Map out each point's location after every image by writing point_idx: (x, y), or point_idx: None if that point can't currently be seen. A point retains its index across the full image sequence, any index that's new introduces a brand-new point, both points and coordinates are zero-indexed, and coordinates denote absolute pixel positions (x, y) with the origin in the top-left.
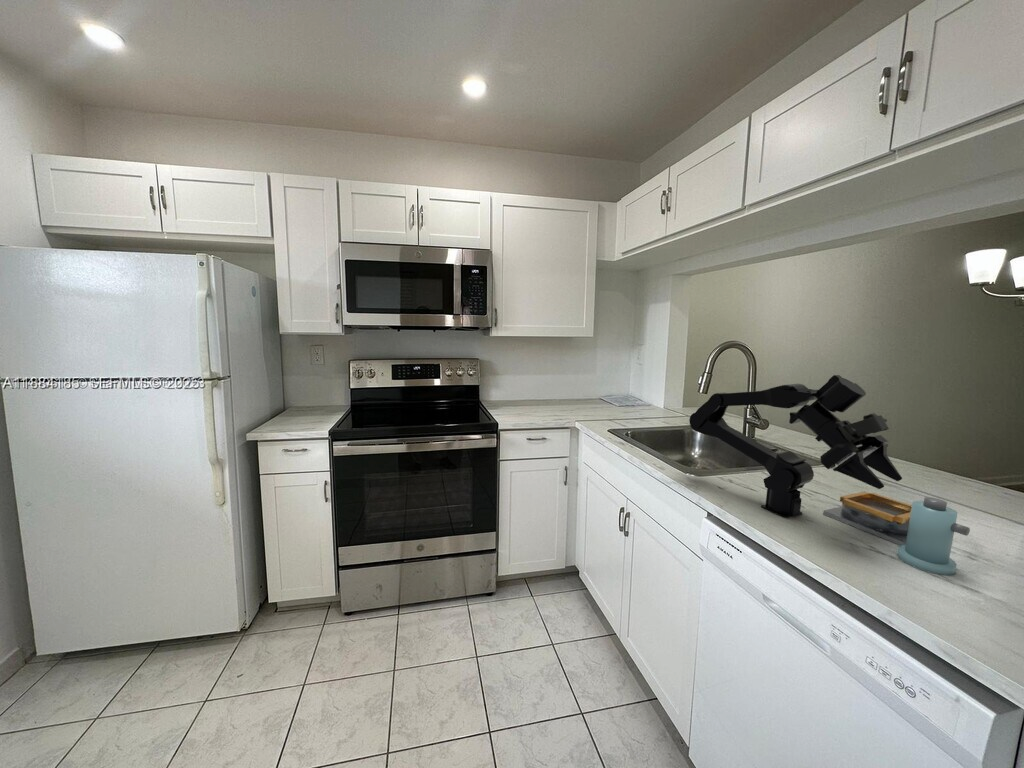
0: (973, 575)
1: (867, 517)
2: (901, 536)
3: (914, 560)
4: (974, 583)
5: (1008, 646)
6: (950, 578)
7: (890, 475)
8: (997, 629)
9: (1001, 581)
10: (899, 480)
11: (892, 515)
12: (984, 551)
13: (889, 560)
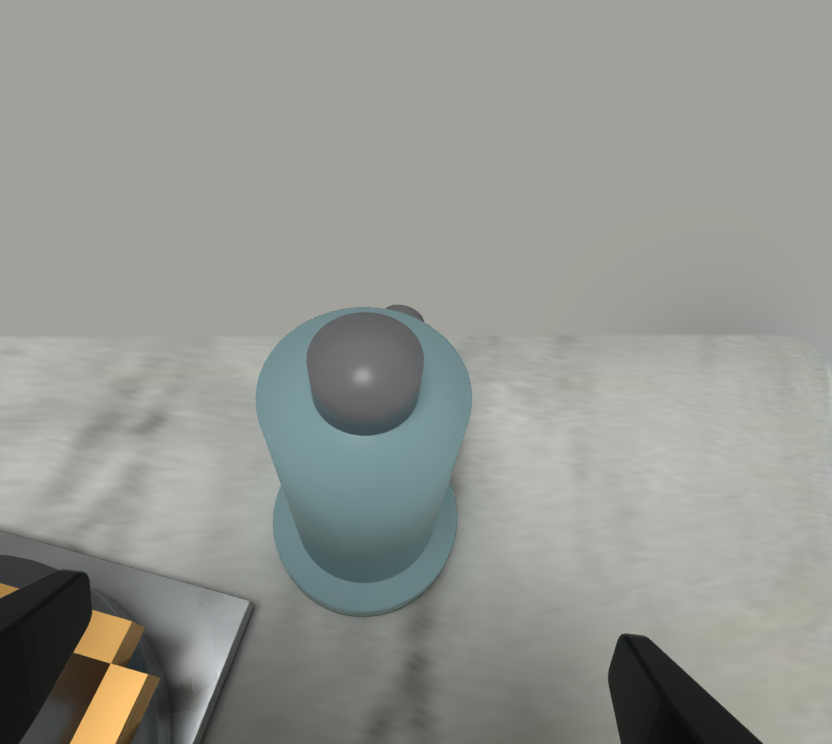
0: None
1: None
2: (166, 635)
3: (453, 536)
4: None
5: (696, 343)
6: None
7: (30, 699)
8: (639, 357)
9: None
10: (85, 598)
11: (118, 682)
12: (30, 398)
13: (468, 624)
